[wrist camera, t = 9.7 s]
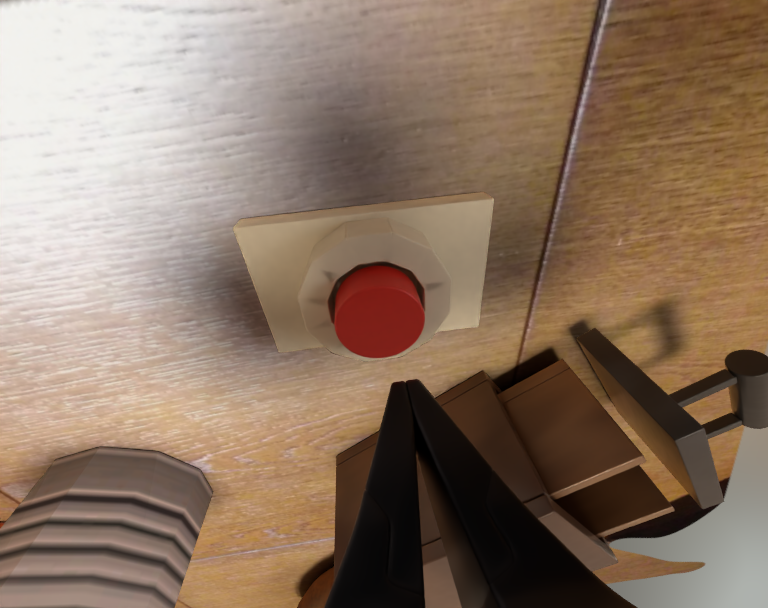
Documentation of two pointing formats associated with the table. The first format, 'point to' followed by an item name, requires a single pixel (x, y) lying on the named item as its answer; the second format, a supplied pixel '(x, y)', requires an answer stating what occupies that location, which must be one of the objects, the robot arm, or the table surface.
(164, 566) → the can
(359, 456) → the brown wooden drawer box
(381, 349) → the button
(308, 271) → the control block
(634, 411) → the brown drawer
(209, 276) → the table surface
